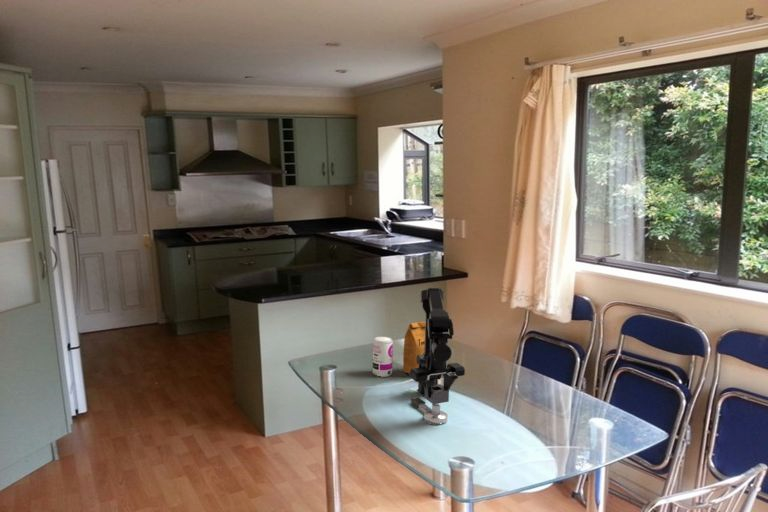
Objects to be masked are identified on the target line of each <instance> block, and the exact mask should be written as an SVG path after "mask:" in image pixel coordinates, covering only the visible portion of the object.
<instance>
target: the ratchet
mask: <svg viewBox="0 0 768 512" xmlns="http://www.w3.org/2000/svg"><path fill="white" fill-rule="evenodd" d="M410 404H411V405H412V406H414V407H415V408H416V409H418V410H419V411H420V412H421V413H423V421H424V422H425V421H426V422H425V423H427V424H429V423H431V424H430V425H433V424H440V423H444V422H446V421H447V422H448V414H447V412H445V411H443V410H441V405H440V403H438V404H432V403H431V404H432V405H431V407H429V406H428V405H427V404H426V401H424V400H423V399H421V398H420V397H413V398H411V399H410ZM447 422H446V423H447Z"/></svg>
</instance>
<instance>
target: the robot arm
mask: <svg viewBox="0 0 768 512" xmlns="http://www.w3.org/2000/svg"><path fill="white" fill-rule="evenodd" d="M444 295H445V294H444V290H442V288H440V287H428V288H427V289H423V290H421V291H420V294H419V303H420V304H421V305H420V306H421V308H422V310H423V312H424V314H425V315H424V319H425V320H424V321H425V352H424V353H423V355H417V359H416V360H417V364H418V368H413V369H411V370H410V372H409V373H408V377H409V378H410V379H412V380H413V381H414V382H416V383H417V384H418V385H417V386H418V387H417V389H416V391H417V392H418V393H419V394H420V395H422V396H423V397H424V396H425V392H426V395H427V397H428V398H429V397H430V393H431V385H438V383H439V380H441V379H442V378H443V386H444V387H445V388H446V389H448V390H449V391H450V388H451V387H452V385H454V382H455V381H456V380H457V379H459V377H464V376H465V375H466V368H465V367H464V366H463V365H461V364H459V363H458V362H451V363H448V364H447V362H448V361H449V360H450V359H451V356H452V354H453V353H452V349H451V347H450V345H449V342H448V341H449V340H453V336H454V334H455V332H454V323H453V321H452V320H453V319H452V318H450V315H449V312H447V311H445V310H444V309H445V308H444V304H443V303H444V301H445V300H444V299H445V297H444ZM442 376H443V377H442Z"/></svg>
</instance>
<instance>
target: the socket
mask: <svg viewBox="0 0 768 512" xmlns="http://www.w3.org/2000/svg"><path fill="white" fill-rule="evenodd" d="M423 397H424V399H425V400H427V402H429V403H431V404H443V403H449V401H450V389H449V390H448V389H446V388H445V387H444V385H442V384H441V383H439V384H438V385H431V393H430V397H429V398H428V397H427V395H426V392H425V396H423Z"/></svg>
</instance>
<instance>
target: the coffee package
mask: <svg viewBox="0 0 768 512" xmlns="http://www.w3.org/2000/svg"><path fill="white" fill-rule="evenodd" d="M424 352H425V320H424V321H418V322H417V321H416V322H412V323H409V325H408V326H407V329H406V332H405V334H404V342H403V358H402V359H403V361H402V362H403V364H402V365H403V368H402V370H403V371H402V372H404V373H406V374H409V372H410V370H411V369H413V368H418V364H417V360H416V359H417V355H423V353H424Z"/></svg>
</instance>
